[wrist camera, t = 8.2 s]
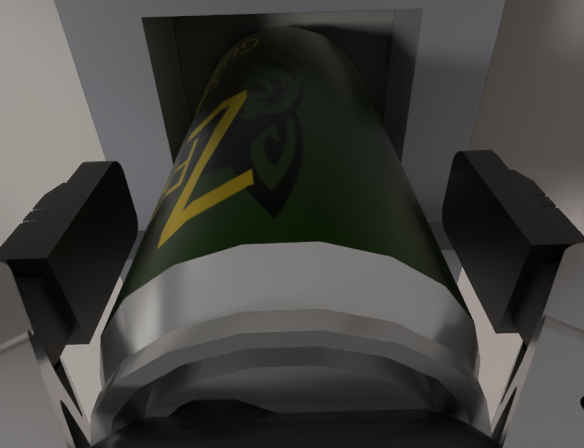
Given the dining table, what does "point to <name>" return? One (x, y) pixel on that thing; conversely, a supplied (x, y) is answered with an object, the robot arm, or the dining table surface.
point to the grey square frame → (165, 3)
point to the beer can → (288, 259)
